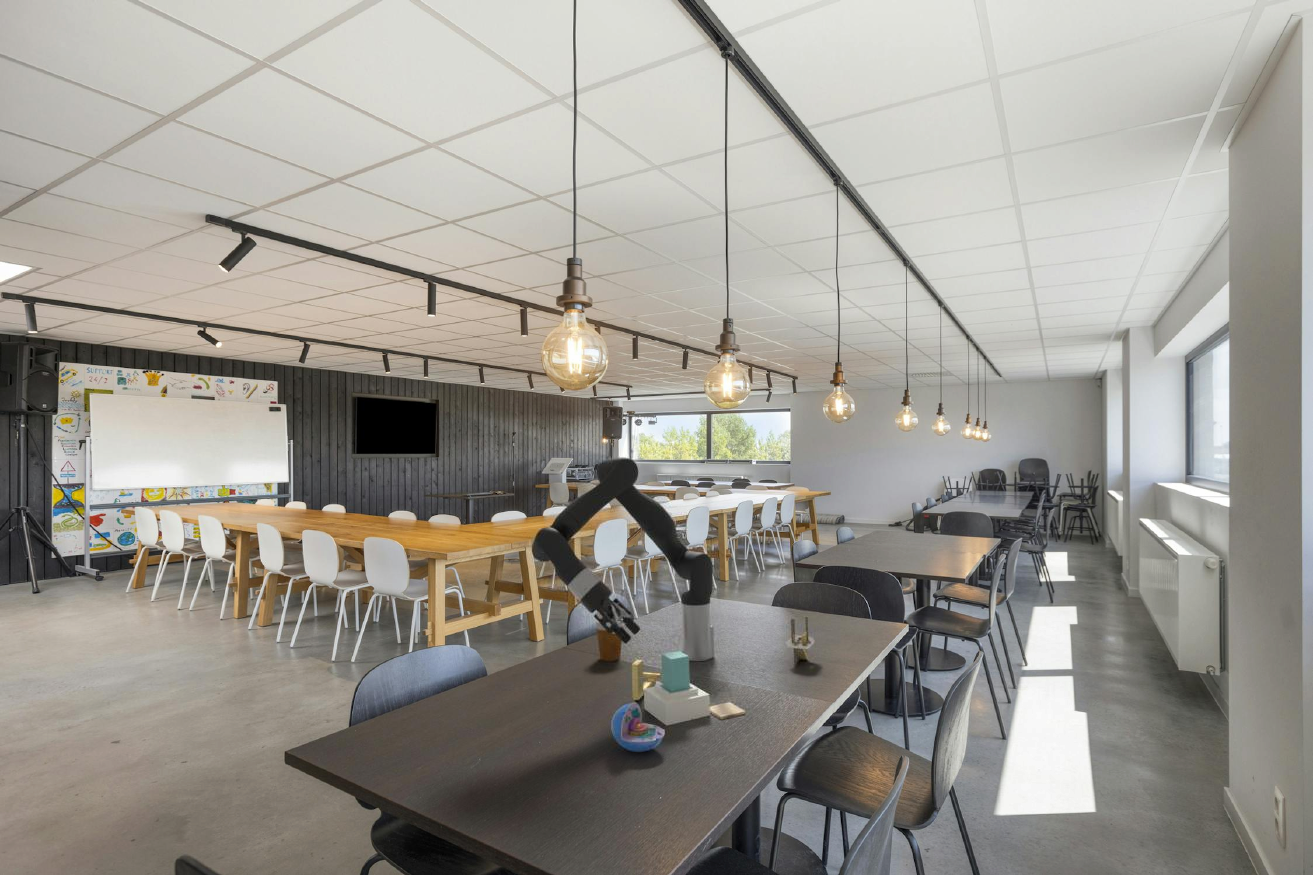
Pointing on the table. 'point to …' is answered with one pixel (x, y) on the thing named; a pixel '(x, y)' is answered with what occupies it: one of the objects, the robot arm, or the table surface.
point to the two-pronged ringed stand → (794, 642)
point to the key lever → (641, 679)
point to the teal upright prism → (675, 671)
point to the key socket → (655, 684)
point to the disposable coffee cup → (608, 643)
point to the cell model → (634, 729)
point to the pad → (726, 710)
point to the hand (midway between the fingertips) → (633, 636)
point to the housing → (676, 704)
